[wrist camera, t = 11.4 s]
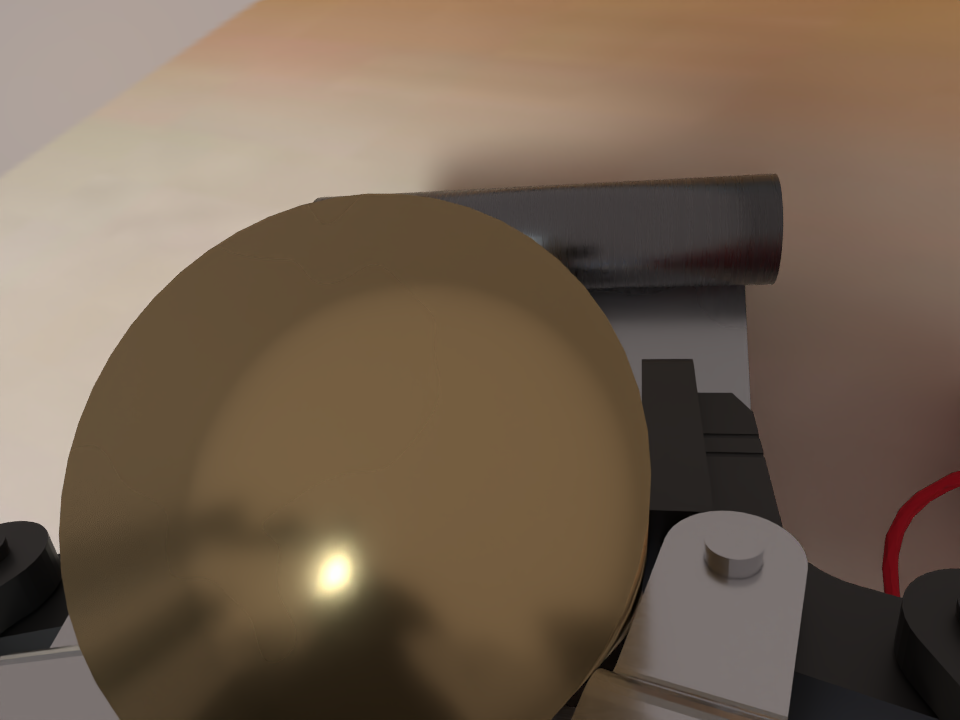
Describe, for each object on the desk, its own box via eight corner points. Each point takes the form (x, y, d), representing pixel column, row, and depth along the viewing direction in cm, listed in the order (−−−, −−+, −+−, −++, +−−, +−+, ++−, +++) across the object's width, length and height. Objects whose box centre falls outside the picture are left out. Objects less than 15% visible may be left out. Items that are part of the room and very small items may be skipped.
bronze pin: (440, 666, 15) (-7, 776, 5) (454, 466, 16) (127, 206, 6) (646, 684, 14) (653, 866, 4) (645, 471, 15) (648, 179, 5)
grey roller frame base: (318, 943, 15) (175, 1089, 11) (391, 260, 20) (316, 152, 15) (780, 1021, 13) (854, 1240, 9) (742, 248, 18) (776, 122, 13)
